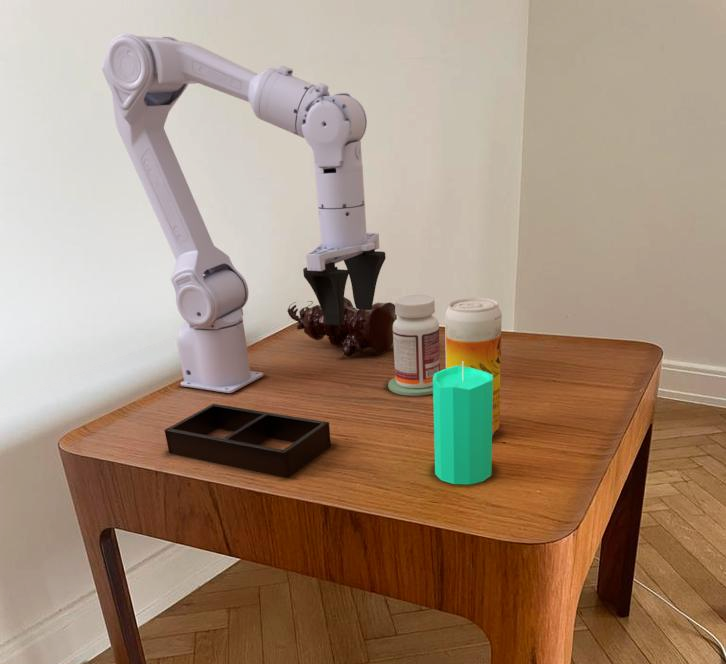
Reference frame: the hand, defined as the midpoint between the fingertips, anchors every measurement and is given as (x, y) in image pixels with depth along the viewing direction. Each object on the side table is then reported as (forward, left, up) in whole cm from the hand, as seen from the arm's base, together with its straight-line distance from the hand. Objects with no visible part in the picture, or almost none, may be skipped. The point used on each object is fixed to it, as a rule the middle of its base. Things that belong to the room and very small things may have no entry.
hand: (349, 316), depth 97 cm
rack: (-2, -21, -10) cm, 24 cm away
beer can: (+20, -7, -11) cm, 24 cm away
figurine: (-12, +16, -11) cm, 23 cm away
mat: (+7, +5, -10) cm, 13 cm away
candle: (+23, -17, -11) cm, 31 cm away
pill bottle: (+7, +5, -10) cm, 13 cm away
